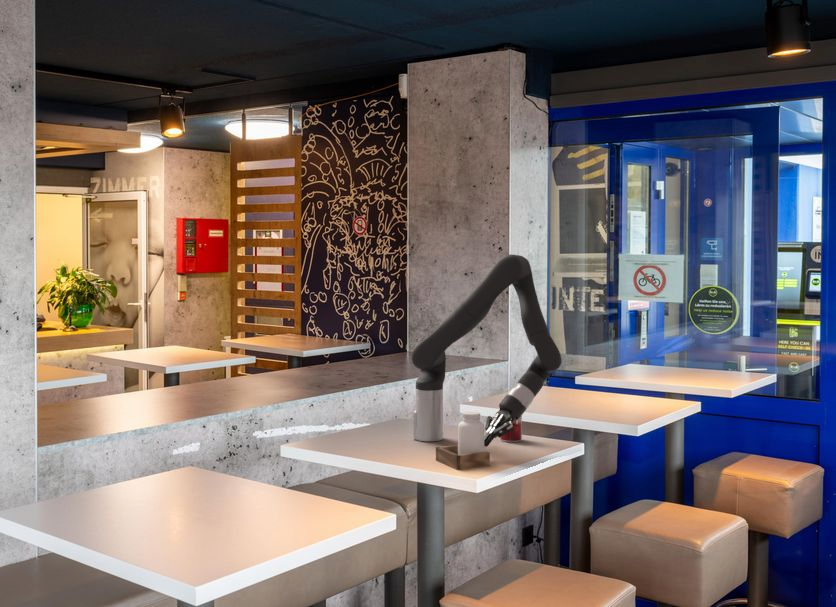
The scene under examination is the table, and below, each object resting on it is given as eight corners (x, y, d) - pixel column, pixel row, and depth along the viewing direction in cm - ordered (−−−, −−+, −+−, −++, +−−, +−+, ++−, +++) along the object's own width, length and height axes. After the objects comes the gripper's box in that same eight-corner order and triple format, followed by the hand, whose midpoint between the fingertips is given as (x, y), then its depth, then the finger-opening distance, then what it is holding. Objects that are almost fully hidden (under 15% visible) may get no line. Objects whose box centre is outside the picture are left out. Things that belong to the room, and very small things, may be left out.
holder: (467, 456, 283) (467, 443, 283) (489, 465, 271) (489, 452, 271) (435, 460, 278) (435, 447, 278) (456, 469, 266) (456, 456, 266)
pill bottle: (487, 460, 278) (487, 411, 277) (479, 466, 271) (479, 416, 270) (462, 458, 281) (462, 409, 280) (454, 463, 273) (454, 414, 273)
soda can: (521, 438, 310) (521, 403, 309) (521, 442, 303) (522, 407, 302) (500, 438, 311) (500, 403, 310) (499, 442, 303) (500, 406, 303)
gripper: (498, 390, 287) (464, 433, 282) (521, 396, 275) (486, 441, 270) (512, 405, 289) (479, 448, 285) (536, 412, 278) (502, 456, 273)
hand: (483, 444), depth 277 cm, fingers closed
